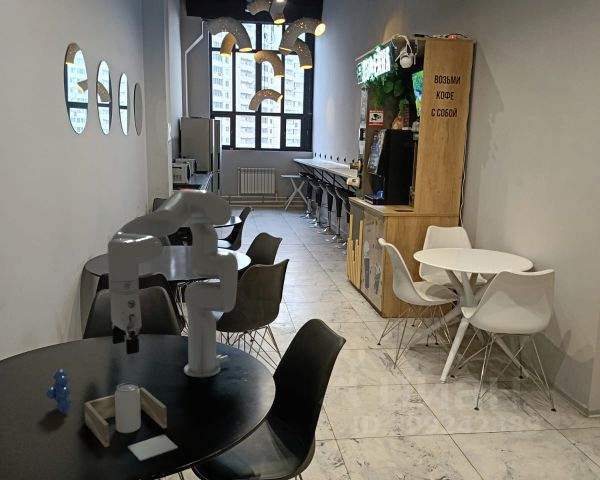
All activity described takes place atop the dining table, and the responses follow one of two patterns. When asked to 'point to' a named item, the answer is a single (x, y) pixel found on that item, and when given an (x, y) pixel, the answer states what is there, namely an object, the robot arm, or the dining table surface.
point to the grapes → (60, 392)
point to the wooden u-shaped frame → (106, 409)
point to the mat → (152, 447)
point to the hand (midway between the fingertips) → (125, 347)
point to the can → (127, 408)
